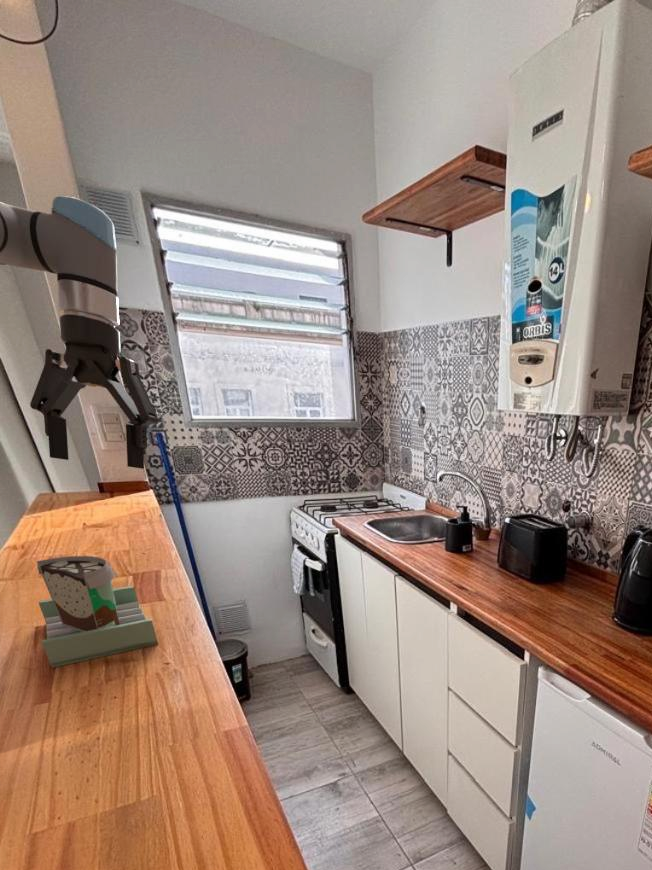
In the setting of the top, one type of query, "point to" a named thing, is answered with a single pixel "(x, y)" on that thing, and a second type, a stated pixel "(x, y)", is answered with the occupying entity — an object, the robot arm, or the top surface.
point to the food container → (81, 591)
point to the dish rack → (98, 632)
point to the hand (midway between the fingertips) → (97, 463)
